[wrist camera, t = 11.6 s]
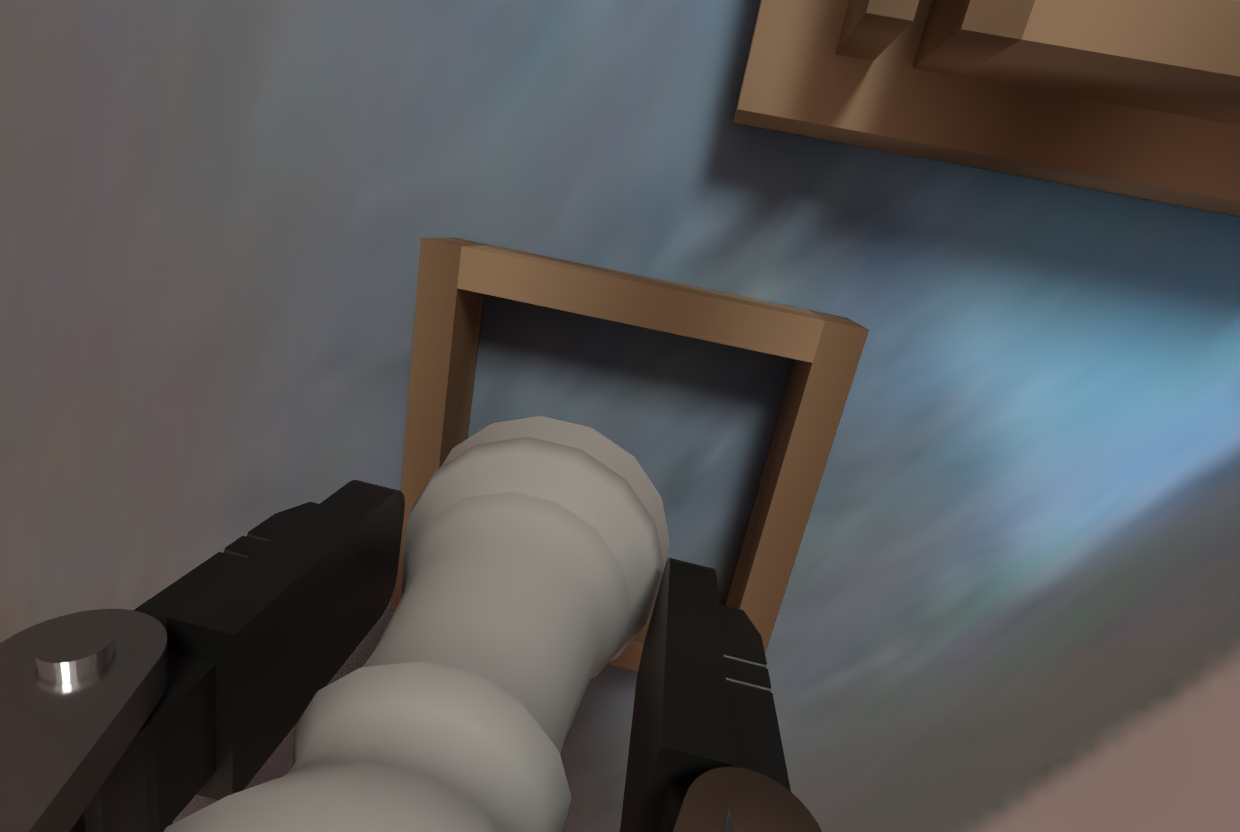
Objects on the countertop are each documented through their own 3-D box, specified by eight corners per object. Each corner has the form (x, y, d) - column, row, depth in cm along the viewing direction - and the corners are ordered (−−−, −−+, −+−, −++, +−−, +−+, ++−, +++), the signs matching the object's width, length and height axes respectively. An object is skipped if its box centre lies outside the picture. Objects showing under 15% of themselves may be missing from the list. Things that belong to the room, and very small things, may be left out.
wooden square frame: (421, 573, 14) (391, 610, 13) (454, 237, 12) (421, 237, 11) (744, 652, 14) (750, 700, 13) (847, 318, 12) (868, 329, 10)
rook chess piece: (666, 633, 11) (630, 1415, 4) (443, 616, 12) (18, 1291, 4) (675, 413, 10) (647, 935, 3) (425, 403, 11) (-231, 826, 3)
